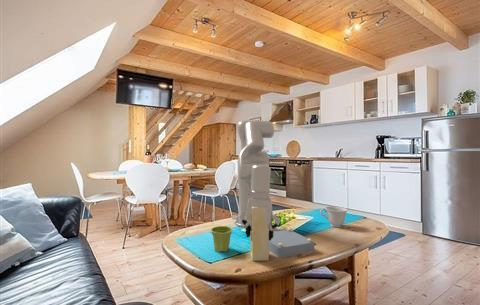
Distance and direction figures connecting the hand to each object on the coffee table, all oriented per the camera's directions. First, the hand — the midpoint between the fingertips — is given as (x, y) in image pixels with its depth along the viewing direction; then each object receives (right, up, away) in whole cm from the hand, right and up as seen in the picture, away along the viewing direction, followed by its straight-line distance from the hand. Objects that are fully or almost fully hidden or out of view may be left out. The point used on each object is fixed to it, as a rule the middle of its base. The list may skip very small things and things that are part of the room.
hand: (259, 237), depth 104 cm
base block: (+13, -8, +12) cm, 19 cm away
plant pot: (-16, -8, +7) cm, 19 cm away
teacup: (+46, -8, +45) cm, 65 cm away
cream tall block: (0, -8, 0) cm, 8 cm away
